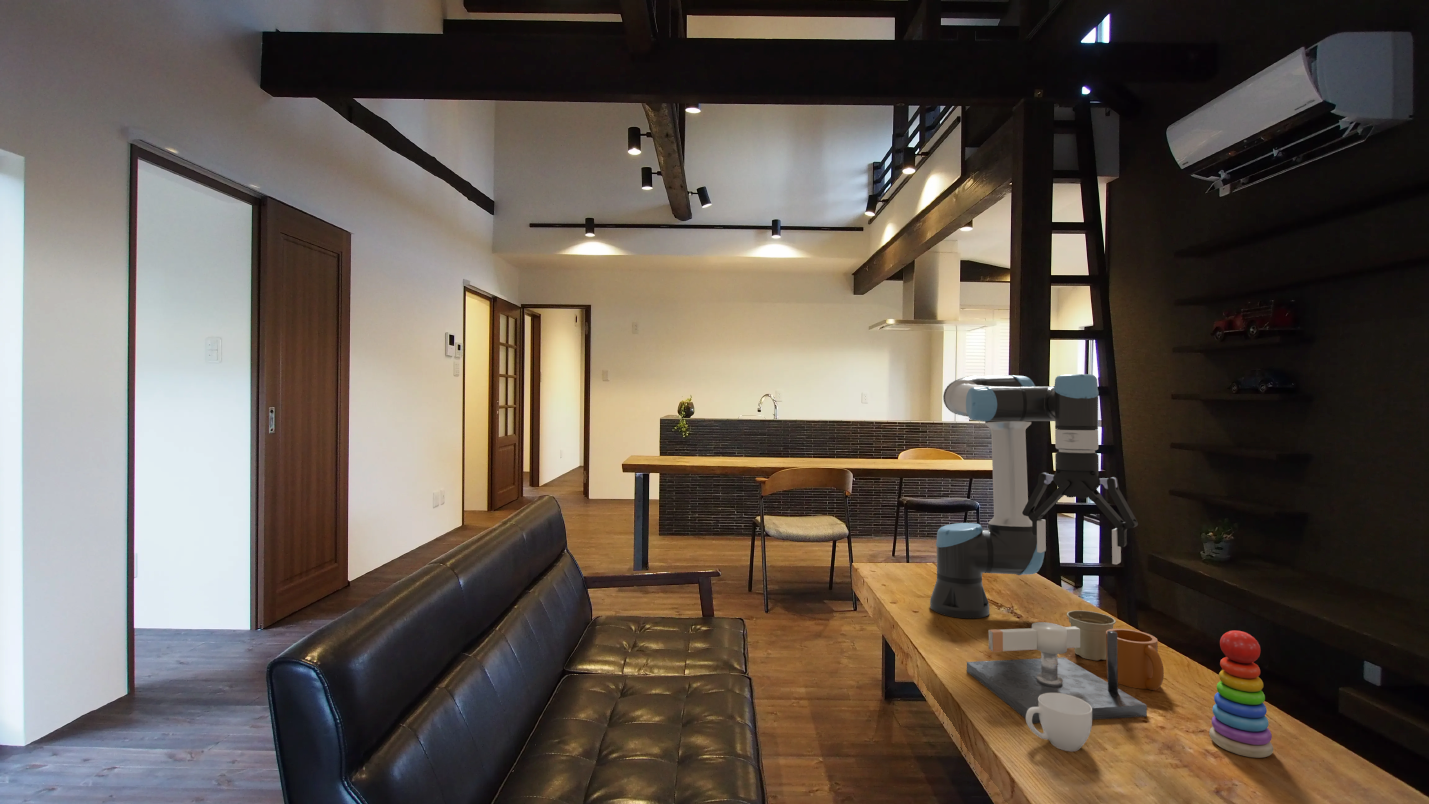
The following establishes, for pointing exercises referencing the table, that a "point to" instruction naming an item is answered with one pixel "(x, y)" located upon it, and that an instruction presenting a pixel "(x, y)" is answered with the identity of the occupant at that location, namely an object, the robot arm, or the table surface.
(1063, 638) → the white lever
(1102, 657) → the flower pot
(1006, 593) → the table surface
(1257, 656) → the stacking toy
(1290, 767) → the table surface
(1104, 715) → the base plate
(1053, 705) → the cup
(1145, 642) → the mug
